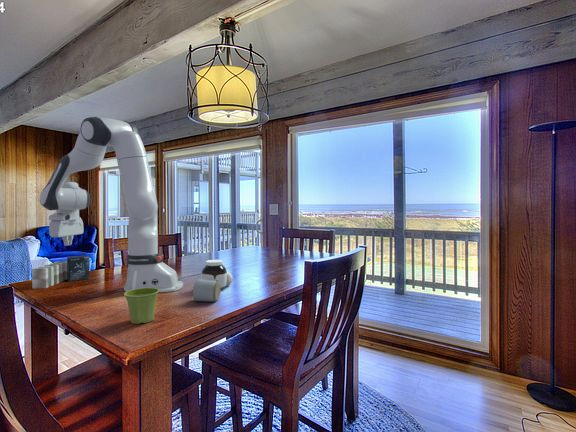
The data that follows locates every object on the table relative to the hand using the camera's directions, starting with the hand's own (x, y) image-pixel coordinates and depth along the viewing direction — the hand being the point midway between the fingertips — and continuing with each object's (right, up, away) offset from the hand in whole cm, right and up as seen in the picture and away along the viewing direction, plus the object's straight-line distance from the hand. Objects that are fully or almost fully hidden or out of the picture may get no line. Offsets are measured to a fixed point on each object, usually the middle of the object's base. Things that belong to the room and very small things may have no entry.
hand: (67, 245), depth 149 cm
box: (+9, -15, -5) cm, 18 cm away
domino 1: (+3, -16, -21) cm, 26 cm away
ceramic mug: (+75, -17, -35) cm, 85 cm away
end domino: (+1, -15, -6) cm, 16 cm away
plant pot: (+61, -17, -56) cm, 85 cm away
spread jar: (+75, -16, -19) cm, 79 cm away
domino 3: (+2, -15, -13) cm, 20 cm away
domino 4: (+2, -15, -9) cm, 18 cm away
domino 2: (+3, -15, -17) cm, 23 cm away
